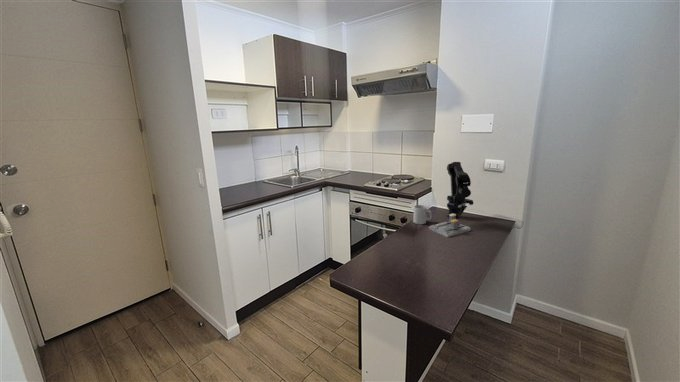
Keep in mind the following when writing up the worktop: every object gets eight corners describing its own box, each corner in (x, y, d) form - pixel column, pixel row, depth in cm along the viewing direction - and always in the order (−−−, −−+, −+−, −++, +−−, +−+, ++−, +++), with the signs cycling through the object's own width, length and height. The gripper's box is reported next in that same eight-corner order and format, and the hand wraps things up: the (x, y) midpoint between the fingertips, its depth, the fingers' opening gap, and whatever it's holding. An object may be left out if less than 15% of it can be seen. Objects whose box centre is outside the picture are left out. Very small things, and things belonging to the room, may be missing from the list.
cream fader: (452, 221, 184) (453, 213, 182) (455, 222, 182) (456, 214, 180) (448, 222, 182) (449, 214, 181) (451, 223, 180) (452, 215, 179)
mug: (411, 223, 189) (412, 207, 186) (414, 219, 196) (415, 204, 193) (429, 225, 183) (430, 210, 181) (432, 221, 190) (433, 206, 188)
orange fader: (454, 227, 173) (454, 219, 172) (457, 228, 171) (457, 220, 170) (450, 228, 172) (450, 220, 170) (453, 229, 170) (454, 221, 168)
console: (450, 223, 187) (451, 218, 186) (470, 230, 174) (470, 225, 173) (428, 229, 178) (429, 224, 177) (447, 237, 165) (447, 232, 164)
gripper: (460, 188, 191) (458, 210, 195) (441, 192, 183) (439, 215, 187) (474, 192, 182) (472, 214, 186) (455, 196, 174) (453, 219, 177)
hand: (459, 215), depth 184 cm, fingers closed
